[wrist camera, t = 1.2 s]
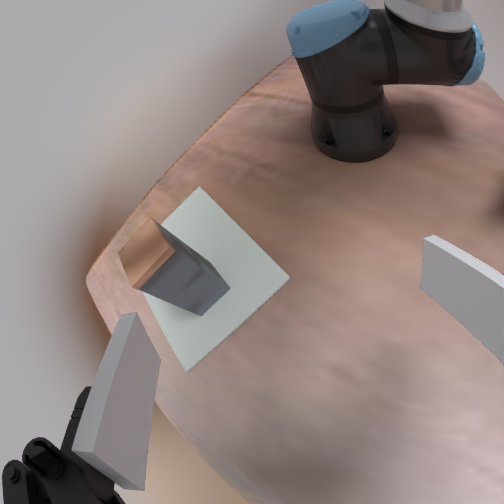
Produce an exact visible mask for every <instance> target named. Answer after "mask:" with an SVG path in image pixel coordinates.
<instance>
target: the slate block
mask: <svg viewBox="0 0 504 504" xmlns="http://www.w3.org/2000/svg"><path fill="white" fill-rule="evenodd" d="M118 255H119V257H120V260H121V262H122V265H123V267H124V270H125V272H126V275H127V277H128V279H129V282H130V284H131V286H132V287H133V288H135V289H137V290H138V289H139V290H141V291H143V292H145V293H147V294H150V295H152V296H154V297H156V298H159V299H161V300H163V301H166V302H168V303H170V304H173V305H175V306H177V307H180V308H182V309H185V310H187V311H189V312H192V313H194V314H197V315H199V316H202V315H203V314H204V313H206V312H207V311H208V310H209V309H210V308H211V307H212V306H213V305H214V304H215V303H216V302H217V301H218V300H219V299H220V298H221V297H222V296H224V295H225V294H226V293H227V292H228V291H229V290H230V289H231V288H230V287H229V285H228V284H227V283H226V282H225V280H224V279H223V278H222V277H221V275H220V274H219V273H218V271H217V270H216V269H215V268H214V266H213V265H212V264H211V262H209V261H208V260H207V259H205V258H204V257H203V256H201V255H200V254H199V253H197V252H196V251H195V250H193V249H192V248H191V247H189V246H188V245H187V244H185V243H184V242H183V241H181V240H180V239H179V238H177V237H176V236H175V235H173V234H172V233H171V232H169V231H168V230H167V229H165V228H164V227H163V226H161V225H160V224H159V223H157V222H156V220H154V219H153V218H152V217H149V219H148V220H147V221H146V222H145V223H144V224H143V225H142V226H141V227H140V228H139V229H138V230H137V231H136V233H135V234H134V235H133V236H132V237H131V238H130V239H129V240H128V241H127V243H126V244H125V245H124V246H123V247H122V248H121V249H120V250H119V252H118Z"/></svg>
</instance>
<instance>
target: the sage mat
mask: <svg viewBox="0 0 504 504" xmlns="http://www.w3.org/2000/svg"><path fill="white" fill-rule="evenodd" d="M161 226H163V227H164V228H165V229H167V230H168V231H169V232H171V233H172V234H173V235H175V236H176V237H177V238H179V239H180V240H181V241H183V242H184V243H185V244H187V245H188V246H189V247H191V248H192V249H193V250H195V251H196V252H197V253H199V254H200V255H201V256H203V257H204V258H205V259H207V260H208V261H209V262H211V264H212V265H213V266H214V268H215V269H216V270H217V271H218V273H219V274H220V275H221V277H222V278H223V279H224V280H225V282H226V283H227V284H228V285H229V287H230V288H231V289H230V290H229V291H228V292H227V293H226V294H225V295H224V296H222V297H221V298H220V299H219V300H218V301H217V302H216V303H215V304H214V305H213V306H212V307H211V308H210V309H209V310H208V311H207V312H206V313H204V314H203V315H202V316H199V315H197V314H194V313H192V312H189V311H187V310H185V309H182V308H180V307H177V306H175V305H173V304H170V303H168V302H166V301H163V300H161V299H159V298H156V297H154V296H152V295H150V294H147V293H145V292H143V293H144V296H145V298H146V300H147V302H148V304H149V306H150V308H151V310H152V312H153V314H154V316H155V318H156V320H157V322H158V323H159V325H160V327H161V329H162V331H163V333H164V335H165V337H166V338H167V340H168V342H169V344H170V346H171V347H172V349H173V351H174V353H175V355H176V356H177V358H178V360H179V361H180V363H181V365H182V367H183V368H184V370H185V372H189V371H190V370H191V369H192V368H193V367H194V366H196V365H197V364H198V363H199V362H200V361H201V360H203V359H204V358H205V357H206V356H207V355H208V354H210V353H211V352H212V351H213V350H214V349H215V348H216V347H217V346H219V345H220V344H221V343H222V342H223V341H224V340H225V339H226V338H228V337H229V336H230V335H231V334H232V333H233V332H234V331H235V330H236V329H238V328H239V327H240V326H241V325H242V324H243V323H244V322H245V321H246V320H247V319H249V318H250V317H251V316H252V315H253V314H254V313H255V312H256V311H257V310H258V309H259V308H260V307H262V306H263V305H264V304H265V303H266V302H267V301H268V300H269V299H270V298H271V297H272V296H273V295H274V294H275V293H276V292H278V291H279V290H280V289H281V288H282V287H283V286H284V285H285V284H286V283H287V282H288V281H289V280H290V279H291V278H290V277H289V276H288V275H287V274H286V273H285V272H284V271H283V269H282V268H281V267H280V266H279V265H278V264H277V263H276V262H275V261H274V260H273V259H272V258H271V257H270V256H269V255H268V254H267V253H266V252H265V251H264V250H263V249H262V248H261V247H260V246H259V245H258V244H257V243H256V242H255V241H254V240H253V239H252V238H251V237H250V236H249V235H248V234H247V233H246V232H245V231H244V230H243V229H242V228H241V227H240V226H239V225H238V224H237V223H236V222H235V221H234V220H233V219H232V218H231V217H230V216H229V215H228V214H227V213H226V212H225V211H224V210H223V209H222V208H221V207H220V206H219V205H218V204H217V203H216V202H215V201H214V200H213V199H212V198H211V197H210V196H209V195H208V194H207V193H206V192H205V191H204V190H203V189H202V188H201V187H200V186H199V187H198V188H197V189H196V190H195V191H194V192H193V193H192V194H191V195H190V196H189V197H188V198H187V199H186V200H185V201H184V202H183V203H182V204H181V205H180V206H179V207H178V208H177V209H176V210H175V211H174V212H173V213H172V214H171V215H170V216H169V217H168V218H167V219H166V220H165V221H164V222H163V223H162V224H161Z"/></svg>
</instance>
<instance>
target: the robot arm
mask: <svg viewBox="0 0 504 504" xmlns="http://www.w3.org/2000/svg"><path fill="white" fill-rule="evenodd" d="M384 5H385V9H369V8H368V6H366V4H365V3H364V2H362V1H359V0H335V1H329V2H325V3H321V4H318V5H315V6H313V7H310V8H308V9H306V10H304V11H302V12H301V13H299V14H297V15H296V16H294V18H292V19H291V20H290V22H289V23H288V25H287V29H286V33H287V36H288V39H289V42H290V45H291V48H292V54H293V55H294V57H295V58H296V60H297V63H298V65H299V68H300V70H301V73H302V76H303V78H304V81H305V83H306V86H307V89H308V91H309V94H310V97H311V100H312V117H311V131H312V135H313V138H314V141H315V143H316V145H317V147H318V148H319V149H320V150H321V151H322V152H323V153H325V154H326V155H328V156H330V157H332V158H334V159H337V160H341V161H347V162H363V161H368V160H372V159H375V158H378V157H380V156H382V155H384V154H385V153H387V152H388V151H389V150H390V149H391V148H392V147H393V145H394V144H395V142H396V139H397V121H396V118H395V115H394V113H393V111H392V109H391V107H390V105H389V103H388V101H387V99H386V97H385V95H384V91H383V85H389V84H423V85H443V86H456V85H470V84H472V83H474V82H475V81H476V80H477V79H478V78H479V76H480V75H481V73H482V70H483V67H484V61H485V53H484V52H483V50H482V48H483V46H484V43H483V39H482V35H481V33H480V31H479V29H478V27H477V25H476V24H475V23H474V22H473V20H472V16H471V14H470V13H469V12H468V10H467V9H466V8H465V7H464V6H463V4H462V0H384ZM420 289H421V290H423V291H424V292H425V293H426V294H427V295H429V296H430V297H431V298H432V299H433V300H435V301H436V302H437V303H438V304H439V305H440V306H442V307H443V308H444V309H445V310H446V311H447V312H448V313H450V314H451V315H452V316H453V317H454V318H455V319H456V320H457V321H459V322H460V323H461V324H462V325H463V326H464V327H465V328H466V329H467V330H468V331H470V332H471V333H472V334H473V335H474V336H475V337H476V338H477V339H478V340H479V341H480V342H481V343H482V344H483V345H484V346H485V347H486V348H487V349H488V350H489V351H491V352H492V353H493V354H494V355H495V356H496V357H497V358H498V359H499V360H500V361H501V362H502V364H503V365H504V274H502V273H499V272H498V271H496V270H495V269H493V268H492V267H490V266H488V265H487V264H485V263H483V262H482V261H480V260H478V259H477V258H475V257H473V256H472V255H470V254H468V253H466V252H465V251H463V250H461V249H459V248H458V247H456V246H454V245H452V244H450V243H449V242H447V241H445V240H443V239H441V238H439V237H438V236H436V235H432V236H429V237H426V238H423V258H422V271H421V281H420ZM160 362H161V359H160V357H159V355H158V353H157V351H156V350H155V348H154V346H153V344H152V342H151V340H150V338H149V336H148V334H147V332H146V330H145V328H144V326H143V324H142V322H141V320H140V318H139V316H138V314H137V312H134V313H129V314H124V315H121V317H120V319H119V321H118V323H117V326H116V328H115V330H114V333H113V335H112V337H111V340H110V342H109V344H108V347H107V349H106V351H105V354H104V356H103V359H102V361H101V364H100V366H99V369H98V372H97V375H96V377H95V379H94V382H93V385H92V386H91V387H86V388H85V389H84V390H83V392H82V393H81V394H80V395H79V397H78V399H77V402H76V405H75V407H74V409H75V410H73V413H72V415H71V420H70V421H69V424H68V427H67V430H66V433H65V436H64V440H63V443H62V446H61V449H60V450H59V449H58V448H57V447H55V446H54V445H53V444H52V443H51V442H50V441H49V440H47V439H45V438H41V437H38V438H35V439H32V440H31V441H30V442H29V443H28V444H27V445H26V447H25V449H24V451H23V455H22V461H23V463H22V462H20V461H18V460H12V461H10V462H8V463H7V464H6V466H5V467H4V470H3V474H2V485H3V497H4V498H3V499H4V504H125V502H124V501H123V500H122V498H121V497H120V496H119V494H118V493H117V492H116V491H115V490H114V484H115V483H116V484H117V485H119V486H120V487H122V488H124V489H129V490H142V491H144V490H145V476H146V465H147V454H148V445H149V436H150V427H151V420H152V413H153V406H154V399H155V392H156V386H157V380H158V374H159V368H160ZM24 464H25V465H26V466H25V465H24Z"/></svg>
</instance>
